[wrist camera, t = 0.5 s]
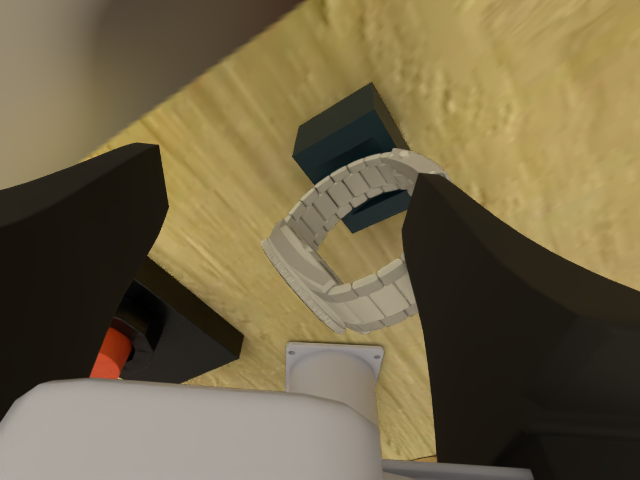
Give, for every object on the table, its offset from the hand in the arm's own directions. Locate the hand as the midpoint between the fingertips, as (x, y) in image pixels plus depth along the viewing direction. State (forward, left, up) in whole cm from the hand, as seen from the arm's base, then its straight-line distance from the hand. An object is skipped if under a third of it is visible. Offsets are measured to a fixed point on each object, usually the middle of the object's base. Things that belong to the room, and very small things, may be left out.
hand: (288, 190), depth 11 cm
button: (-16, +13, -7) cm, 22 cm away
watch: (-3, -3, -10) cm, 11 cm away
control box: (-18, +12, -10) cm, 24 cm away
